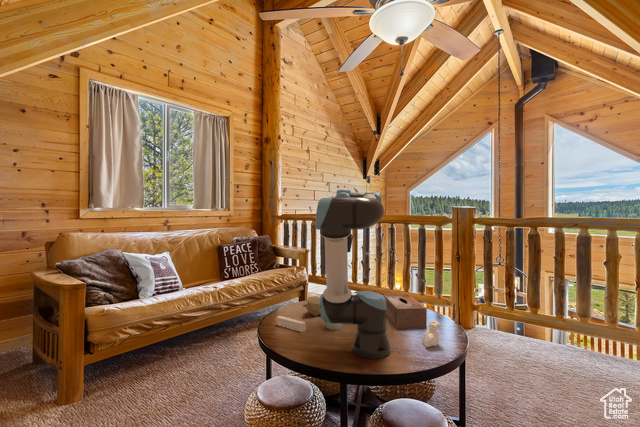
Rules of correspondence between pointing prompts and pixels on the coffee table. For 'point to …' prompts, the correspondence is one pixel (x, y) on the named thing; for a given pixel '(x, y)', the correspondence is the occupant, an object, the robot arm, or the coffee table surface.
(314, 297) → the low-poly potato
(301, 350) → the coffee table surface
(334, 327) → the pale green egg
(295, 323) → the rail
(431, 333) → the bust
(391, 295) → the tissue box cover
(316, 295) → the cream capsule
